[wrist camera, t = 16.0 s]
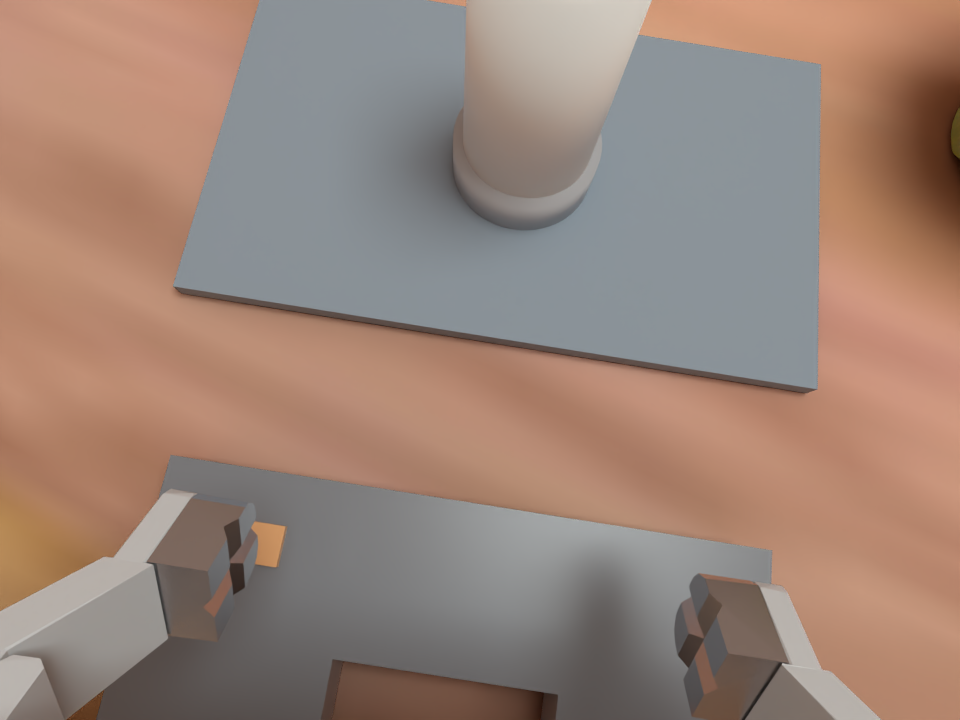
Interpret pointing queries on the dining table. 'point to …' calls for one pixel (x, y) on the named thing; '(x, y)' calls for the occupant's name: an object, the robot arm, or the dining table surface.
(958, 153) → the plant pot
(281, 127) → the rubber mat
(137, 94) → the dining table surface
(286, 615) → the grey square frame
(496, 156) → the white rounded cylinder
